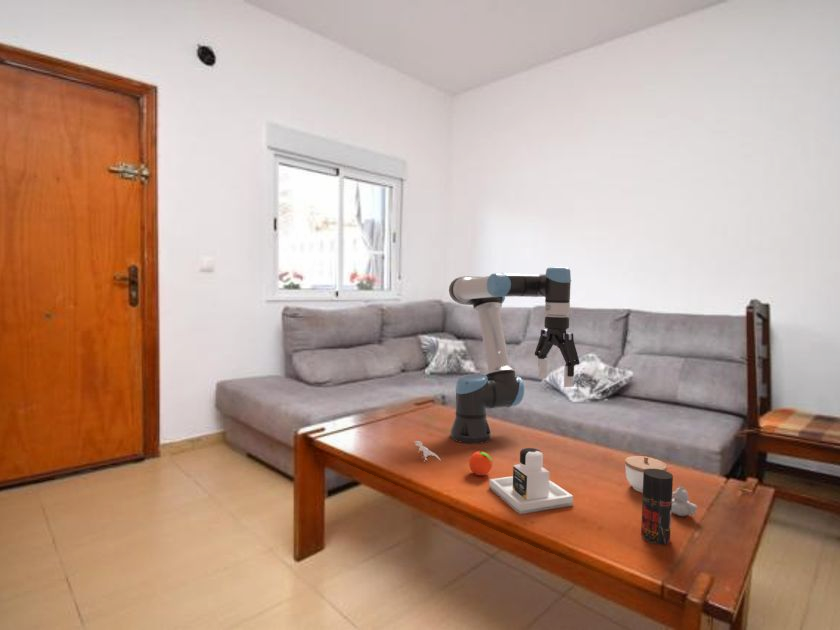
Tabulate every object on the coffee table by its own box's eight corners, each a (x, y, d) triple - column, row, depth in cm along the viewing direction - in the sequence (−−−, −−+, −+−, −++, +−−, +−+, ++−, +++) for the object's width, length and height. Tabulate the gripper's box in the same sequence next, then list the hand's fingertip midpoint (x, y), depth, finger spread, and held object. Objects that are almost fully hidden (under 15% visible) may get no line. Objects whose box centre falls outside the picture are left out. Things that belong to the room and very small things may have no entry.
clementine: (499, 475, 140) (499, 452, 139) (485, 482, 135) (485, 458, 134) (478, 468, 145) (478, 445, 145) (464, 474, 140) (464, 451, 140)
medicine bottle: (512, 489, 128) (513, 447, 127) (534, 486, 130) (535, 444, 129) (525, 501, 121) (527, 456, 120) (549, 497, 123) (550, 453, 123)
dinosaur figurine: (453, 469, 151) (456, 450, 151) (428, 475, 143) (432, 455, 142) (420, 452, 162) (423, 434, 161) (395, 457, 153) (399, 438, 152)
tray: (489, 487, 131) (489, 479, 131) (538, 480, 136) (538, 472, 136) (519, 514, 116) (519, 504, 116) (572, 505, 121) (573, 495, 121)
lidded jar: (649, 480, 138) (650, 449, 137) (674, 496, 127) (676, 463, 126) (616, 482, 136) (617, 451, 135) (639, 499, 125) (641, 465, 125)
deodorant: (638, 529, 109) (641, 467, 108) (666, 533, 108) (669, 470, 107) (643, 542, 104) (646, 476, 103) (672, 546, 102) (675, 480, 101)
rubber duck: (673, 507, 120) (675, 477, 120) (701, 517, 115) (702, 486, 115) (663, 513, 117) (665, 482, 117) (691, 524, 112) (692, 492, 111)
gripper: (525, 313, 157) (523, 375, 158) (572, 318, 133) (569, 391, 135) (544, 313, 159) (542, 374, 161) (593, 318, 136) (590, 389, 137)
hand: (554, 382), depth 148 cm, fingers open, 13 cm apart
